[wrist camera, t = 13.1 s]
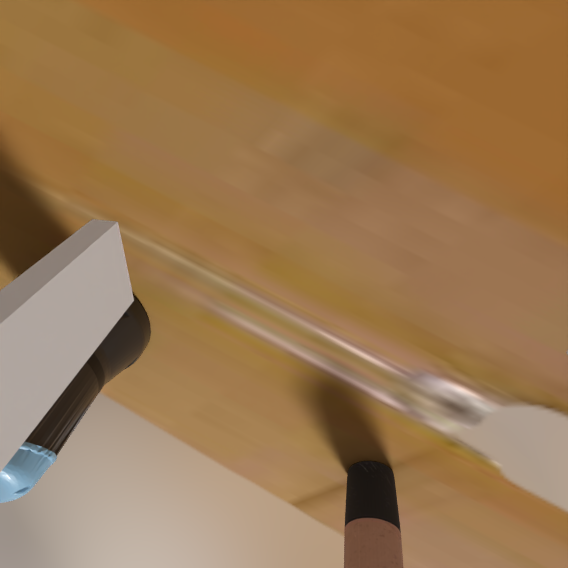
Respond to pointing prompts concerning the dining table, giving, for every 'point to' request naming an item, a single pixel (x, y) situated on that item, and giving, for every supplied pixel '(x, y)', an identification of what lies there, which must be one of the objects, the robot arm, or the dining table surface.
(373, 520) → the travel mug
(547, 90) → the dining table surface
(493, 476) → the dining table surface
